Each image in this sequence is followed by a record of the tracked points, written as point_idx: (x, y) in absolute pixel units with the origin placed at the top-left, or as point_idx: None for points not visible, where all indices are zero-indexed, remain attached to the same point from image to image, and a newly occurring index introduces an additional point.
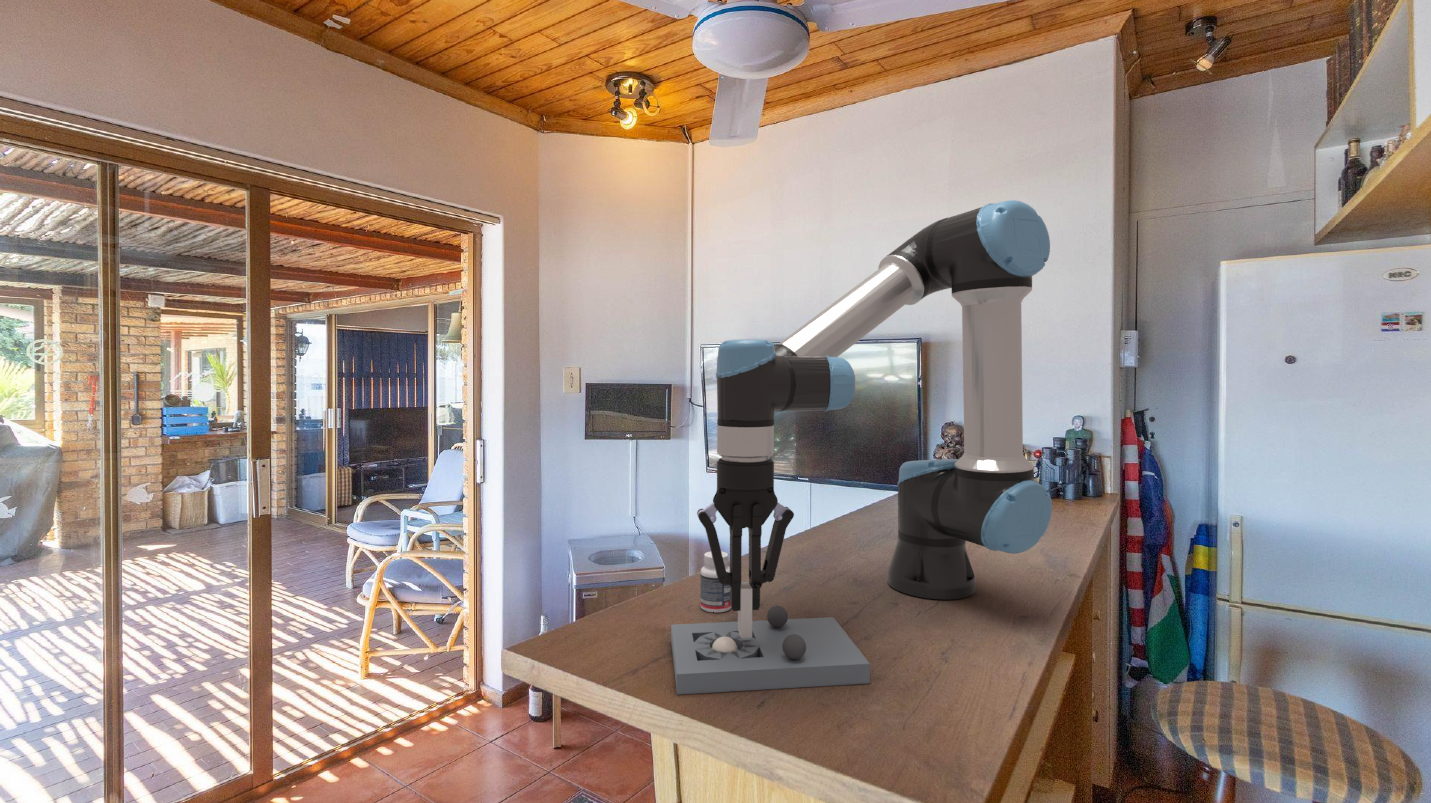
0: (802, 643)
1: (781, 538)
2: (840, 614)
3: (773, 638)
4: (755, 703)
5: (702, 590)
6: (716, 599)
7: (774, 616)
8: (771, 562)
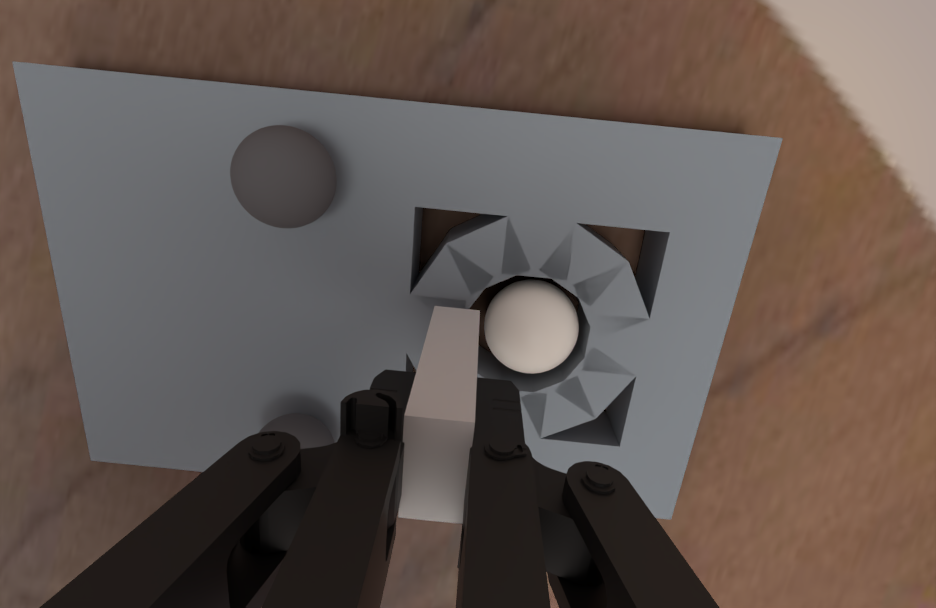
0: (244, 141)
1: None
2: (82, 540)
3: (341, 347)
4: (500, 15)
5: None
6: None
7: (306, 435)
8: (198, 531)
